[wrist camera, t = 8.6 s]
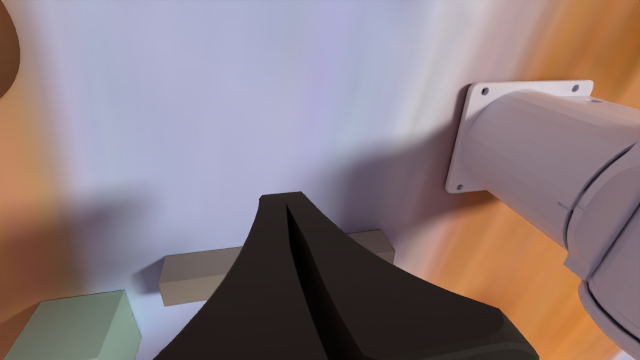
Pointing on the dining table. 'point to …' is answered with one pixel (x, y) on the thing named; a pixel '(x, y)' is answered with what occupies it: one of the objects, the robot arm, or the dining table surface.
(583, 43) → the dining table surface
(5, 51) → the mug
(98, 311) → the block
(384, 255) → the chute
